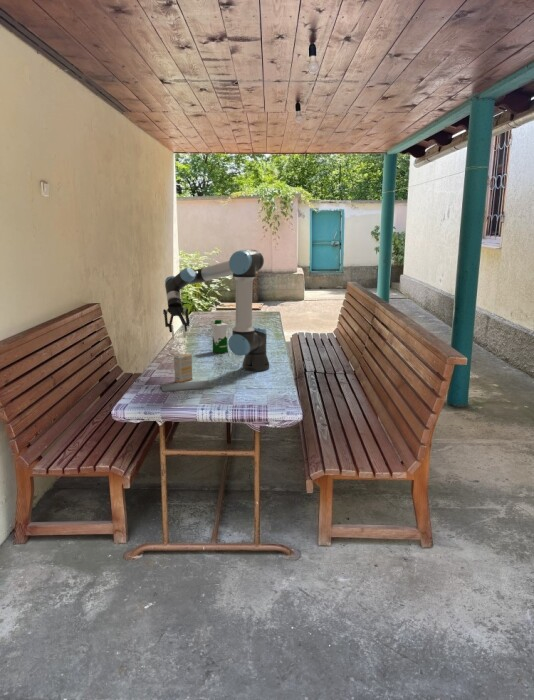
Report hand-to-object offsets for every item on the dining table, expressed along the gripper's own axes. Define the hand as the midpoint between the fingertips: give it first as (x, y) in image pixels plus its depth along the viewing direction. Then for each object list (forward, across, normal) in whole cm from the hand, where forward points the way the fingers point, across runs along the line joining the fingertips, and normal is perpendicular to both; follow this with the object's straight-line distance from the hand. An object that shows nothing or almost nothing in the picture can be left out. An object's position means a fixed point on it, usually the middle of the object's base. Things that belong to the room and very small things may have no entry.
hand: (179, 336), depth 276 cm
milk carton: (-19, -31, -48) cm, 60 cm away
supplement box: (+24, 0, -5) cm, 25 cm away
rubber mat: (+32, 0, +3) cm, 32 cm away
